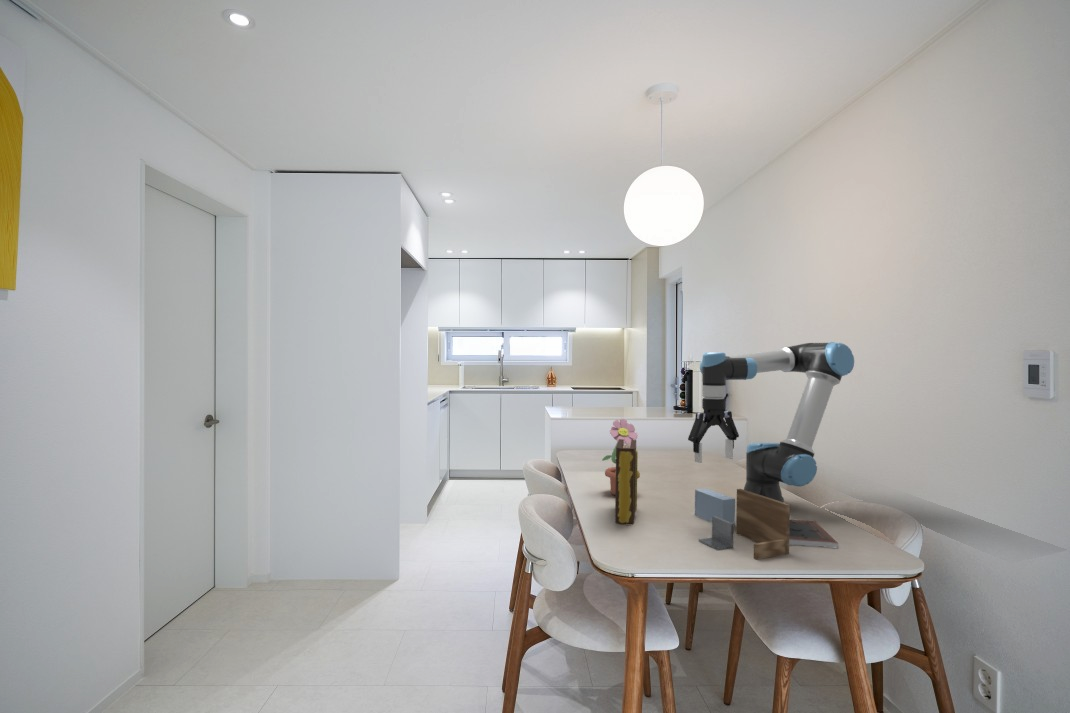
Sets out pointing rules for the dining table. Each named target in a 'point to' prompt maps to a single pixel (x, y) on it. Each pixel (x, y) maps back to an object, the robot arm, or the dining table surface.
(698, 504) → the boxed book
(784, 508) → the shelf
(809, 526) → the picture frame
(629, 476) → the book
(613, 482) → the decorative flower
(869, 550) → the dining table surface
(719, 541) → the bookend
